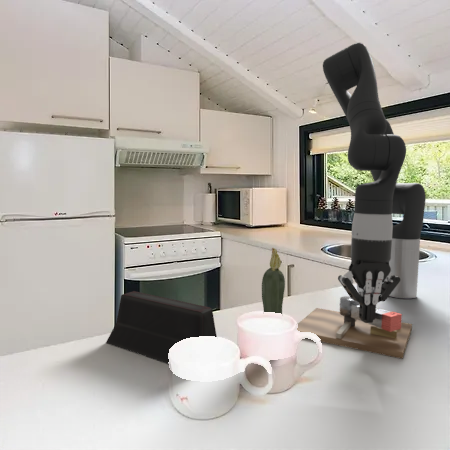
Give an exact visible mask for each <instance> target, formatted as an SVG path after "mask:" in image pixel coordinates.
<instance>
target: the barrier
mask: <svg viewBox="0 0 450 450" xmlns="http://www.w3.org/2000/svg"><path fill="white" fill-rule="evenodd" d="M199 336H215V337H217V330H216V323H215V319H214V311H213V309H212V307H210V306H205V305H200V304H196V303H191V302H187V301H182V300H177V299H172V298H168V297H163V296H159V295H158V296H157V295H154V294H149V293H144V292H139V291H135V290H133V291H129V292H126V293H123V294H121V295H120V300H119V305H118V312H117V317H116V323H115V325H114V327H113V328H112V331H110V334H109V336H108V338H107V340H106V342H105V344H107V345H110V346H113V347H115V348H119V349H122V350H125V351H127V352H131V353H132V354H133V353H134V354H137V355H140V356H143V357H145V358H149V359H152V360H154V361H157V362H160V363H163V364H166V365H169V364H168V362H169V359H168V353H169V349H170V348H171V347H172V346H173V345H174V344H175V343H177V342H179V341H181V340H183V339H186V338H190V337H199ZM217 338H218V337H217Z"/></svg>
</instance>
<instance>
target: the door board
mask: <svg viewBox="0 0 450 450" xmlns="http://www.w3.org/2000/svg"><path fill="white" fill-rule="evenodd" d="M297 324H298V328H297V330H298V331H300V332H311V333H314V334H316V335H317V336H318V337H319V338H320V339H321V341H322V342H321V341H320V342H321V343H327V344H331V345H336V346H339V347H346V348H351V349H355V350H360V351H364V352H369V353H374V354H379V355H383V356H388V357H393V358H397V359H401V360H402V359H403V358H404V355H405V352H406V349H407V347H408V343H409V339H410V336H411V334H412V330H413V324H412V323H408V322H402V321H401V329H398V330H395V331H391V332H389V331H386V330H384V329H381V328H379V327H377V326H374V325H371V324H368V323H364V322H363V321H360V320H357V319H354V318H352V317H346V316H343V315H341V314H340V311H337V310H333V309H332V310H331V309H325V308H319V307H316V308H315V309H313V310H312V311H311V312H310V313H308V314H307V315H306V316H305V317H304V318H303V319H301V320H300V321H299V322H298V323H297Z"/></svg>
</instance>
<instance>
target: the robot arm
mask: <svg viewBox="0 0 450 450" xmlns="http://www.w3.org/2000/svg"><path fill="white" fill-rule="evenodd" d="M375 69H376V68H375V64H374V61H373V59H372V55H371V53H370V51H369V49H368V48H367V46H366V45H365V44H364V43H363V42H355V43H353V44H351V45H349V46H347V47H345V48H343V49H341V50H340V51H337V52H336V53H334V54H332V55H330V56H329V57H327V58H325V59H324V60H323V63H322V71H323V74H324V77H325V79H326V81H327V83H328V85H329V87H330V89H331V91H332V93H333V94H334V96H335V98H336V100H337V103H338V104H339V106H340V108H341V110H342V112H343V114H344V115H345V117H346V120H347V122H348V124H349V125H348V126H349V129H350V142H349V145H348V151H347V161H348V163H349V165H350V166H351V167H352V168H353V169H355V170H357V171H365V172H367V171H368V172H370V174H371V176H372V178H373V181H372V182H371V181H370V182H364V183H360V184H358V185H357V187H356V188H355V192H354V193H355V194H354V211H353V212H354V214H353V219H352V224H351V241H350V242H351V243H350V260H351V262H350V264H349V267H348V271H347V272H346V273H345V274H343V275H340V274H339V275H338V277H337V280H338V282H339V283H340V285H341V286H342V288H343V289H344V290H345V291H346V293H347V295H348V296H350V297H351V298H352V299H353V300H355V301H357V302H359V318H360V319H361V321H363V322H364V323H373V320H374V319H375V314H376V313H375V312H376V308H377V305H378V303H380V302H385V301H386V300H387V299H388V298H389V297H393V298H396V299H414V298H415V299H416V298H417V297H418V295H417V294H418V282H419V281H418V280H419V266H420V265H419V264H420V246H421V245H420V244H421V234H422V231H423V227H424V217H425V216H424V215H425V207H426V201H427V200H426V191H425V188H424V186H423V185H422V184H421V183H417V182H398V179H399V176H400V172H401V170H402V168H403V165H404V162H405V158H406V156H407V146H406V143H405V141H404V139H403V138H402V136H399V135H397V134H395V133H394V131H393V128H392V125H391V124H390V122H389V121H388V120H387V119H386V117H385V114H384V112H383V108H382V106H381V103H380V98H379V92H378V82H377V81H378V80H377V75H376V70H375ZM353 88H355V89H354V91H353V92H352V94H351V93H350V92H349V90H352V89H353ZM393 214H394V215H403V217H402V220H401V221H400V222H398V223H397V224H394V223H393ZM393 224H394V225H393ZM354 282H355V283H356V287H355V286H354Z"/></svg>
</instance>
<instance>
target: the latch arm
mask: <svg viewBox="0 0 450 450" xmlns="http://www.w3.org/2000/svg"><path fill="white" fill-rule="evenodd" d="M339 299H340V300H339V312H340V314H341V315H343V316H346V317H352V318H354V319H357V320H360V321H361V319H360V318H359V302H357V301H355V300H353V299H352V298H351V297H350V296H349V295H347V296H346V295H345V296H341V297H340V298H339ZM375 313H376V314H375V319H374V320H373V323H368V324H371V325H374V326H377V327H379V328H381V329H384V330H386V331H389V332H391V331H395V330H398V329H401V322H402V320H403V319H402V318H403V317H402V315H403V314H402V313H400V312H396V311H389V310H385V309H381V308H380V307H376V312H375Z"/></svg>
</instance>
